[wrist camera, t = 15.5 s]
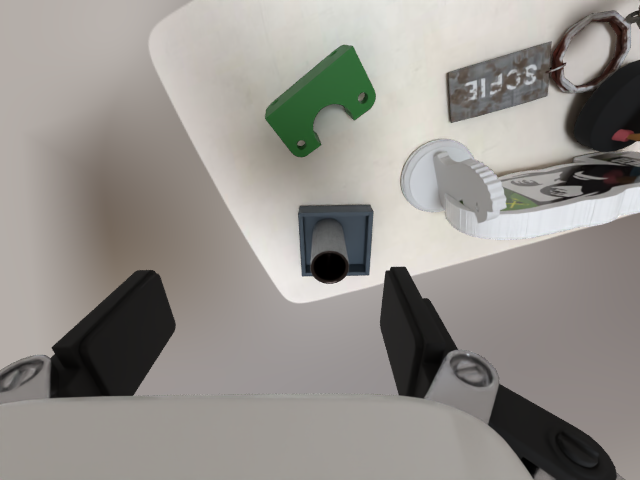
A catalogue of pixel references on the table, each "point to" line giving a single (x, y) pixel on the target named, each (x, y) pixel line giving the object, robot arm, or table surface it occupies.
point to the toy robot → (633, 18)
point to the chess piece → (451, 180)
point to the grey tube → (328, 252)
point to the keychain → (527, 73)
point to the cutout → (558, 198)
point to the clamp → (320, 99)
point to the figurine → (612, 112)
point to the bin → (354, 228)
